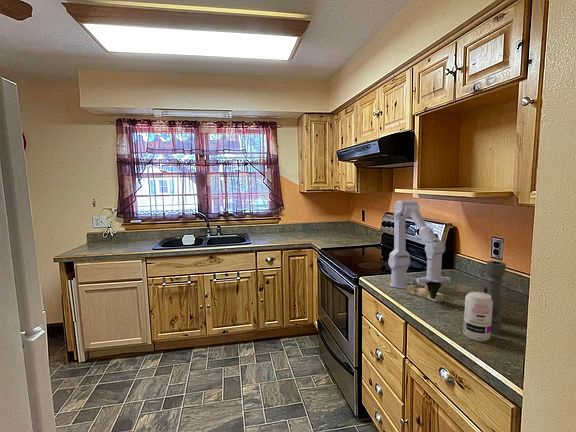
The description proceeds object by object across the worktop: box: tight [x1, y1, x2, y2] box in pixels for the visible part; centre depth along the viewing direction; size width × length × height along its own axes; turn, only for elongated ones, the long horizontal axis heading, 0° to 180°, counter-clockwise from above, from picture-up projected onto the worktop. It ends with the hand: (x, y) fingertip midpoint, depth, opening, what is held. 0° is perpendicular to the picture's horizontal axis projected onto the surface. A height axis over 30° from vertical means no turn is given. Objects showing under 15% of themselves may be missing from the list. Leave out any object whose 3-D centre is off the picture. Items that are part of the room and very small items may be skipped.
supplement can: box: [462, 291, 493, 342], centre depth 112 cm, size 8×8×15 cm
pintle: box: [409, 280, 418, 288], centre depth 154 cm, size 3×3×6 cm
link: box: [405, 284, 445, 303], centre depth 150 cm, size 16×5×3 cm, turn 36°
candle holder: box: [485, 260, 507, 335], centre depth 116 cm, size 6×6×25 cm
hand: (432, 298), depth 143 cm, fingers closed
